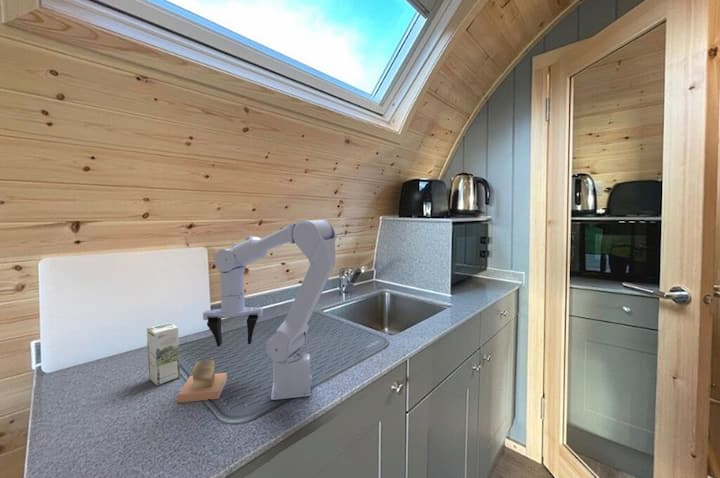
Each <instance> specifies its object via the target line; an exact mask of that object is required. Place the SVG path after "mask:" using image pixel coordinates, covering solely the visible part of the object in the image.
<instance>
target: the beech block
mask: <svg viewBox="0 0 720 478" xmlns="http://www.w3.org/2000/svg"><path fill="white" fill-rule="evenodd" d="M215 371H216V370H215V359H212V360H201V361H197V362H196V363H195V365H194V366H193V368H192V376H193V385H194V389H197V388H205V387H211V386H212V384H213V382H214V380H215V374H216V373H215Z"/></svg>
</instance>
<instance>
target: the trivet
mask: <svg viewBox="0 0 720 478" xmlns="http://www.w3.org/2000/svg"><path fill="white" fill-rule="evenodd" d="M227 380H228V373H227V372H218V373H215V380H214V382H213V384H212V386H211V387H205V388H197V389H194V385H193V375H190V376H189V378H188V379H187V380H186V382H185V383H184V384H183V386H182V388H181V389H180V390H179V392H178V394H177V403H178V404H179V403H188V402H199V401H209V400H208V399H210V400H217V399H219V398H220V396H221V394H222V391H223V389H224V387H225V385H226V383H227Z"/></svg>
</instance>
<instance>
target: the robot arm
mask: <svg viewBox="0 0 720 478" xmlns="http://www.w3.org/2000/svg"><path fill="white" fill-rule="evenodd" d="M337 237H338V236H337V233H336V231H335V228H334V227H333V224H332V223H331V222H330V221H329V220H327V219H325V218H320V219H314V220H307V219H306V220H305V219H303V220H299V221H298V222H294V223H289V224H288V225H286V226H284V227H283V228H280V229H279V230H276V231H275V232H273V233H270V234H269V235H267V236H265V237H262V238H261V237H258V236H253V235H251V236H249V235H248V236H247V237H245V240H244V241H242V242H240V243H237V242H236V243H233V244H232V245H231V247H230V248H221V249H219V250H218V251H217V252H216V253H215V255H214V258H213V260H214V261H213V262H214V265H215V268H216V269H217V270H218V271H219V275H220V276H219V279H220V280H219V281H220V304H221V308H217V309H216V308H215V309H209V310H208V309H207V310H204V312H202V316H203V318H202V319H203V321H207V322H206V325H207V327H208V328H209V330H210V332H211V333H212V334H213V337H214V340H215V342H216V346H217V347H221V345H222V344H223V337H222V319H227V318H228V319H229V318H231V319H232V318H246V317H247V318H246V326H247V327H246V328H247V345H251V344H252V342H253V334H254V330H255V328H256V323H257V321H258V319H259V317H263V314H264V313H263V307H262V306H261V307H254V306H252V307H251V306H250V307H249V306H246V305H245V304H246V301H245V297H246V296H245V277H244V276H245V273H246V266H247V265H250V264H252V263H255V262H257V261H259V260H262V259H264V258H265V257H266V256H267V253H268V251H270V250H272V249H275V248H278V247H280V246H282V245H285V244H288V243H289V244H292V245H294V244H295V245H296V246H297V247H298V249H299V250H300V251H301V252H302V253H303V255H304V256H305V257H306V258H307V260H308V262H309V264H310V265H309V267H308V269H307V271H306V274H305V275H304V278H303V280H302V282H301V285H300V286H299V289H298V291H297V294H296V296H295V298H294V300H293V302H292V305H291V307H290V308H289V311H288V313H287V315H286V317H285V320H283V322H282V323H281V324H280V326H278V328H277V329H276V331H275V333H274V334H273V335H272V336H271V337H270V338H268V340H267V341H266V344H265V345H266V346H265V347H266V348H265V350H266V353H267V355H268V357H269V358H270V359H271V362H272V374H273V375H272V377H273V378H272V379H273V382H272V388H271V395H270V400H271V401H275V400H285V399H293V398H295V399H296V398H303V397H304V398H305V397H310V396H312V393H311V392H312V383H313V381H312V380H313V379H312V378H313V377H312V376H313V375H311V354H310V353H304V352H303V349H304V348H303V347H304V346H305V345H306V343H307V340H308V339H307V338H308V331H309V329H310V326H309V325H308V323H309V320H310V318H311V316H312V314H313V312H314V310H315V308H316V306H317V304H318V302H319V300H320V297H321V295H322V293H323V291H324V289H325V286H326V285H327V284H328V281H329V279H330V276H331V274H332V272H333V270H334V268H335V267H336V261H337V259H336V240H337Z"/></svg>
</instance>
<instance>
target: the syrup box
mask: <svg viewBox="0 0 720 478" xmlns="http://www.w3.org/2000/svg"><path fill="white" fill-rule="evenodd" d="M146 338H147V356H148V357H147V358H148V359H147V360H148V373H149V374H148V375H149V376H148V377H149V380H150V381H151V382H153V384H155V385H156V386H157V387H158V386H161V385H164V384H166V383H169V382H171V381H174V380H177V379H180V377H181V368H180V366H181V365H180V344H179V343H180V342H179V328H178V327H177V325H175V324H174V323H172V322H166V323H163V324H158V325H154V326H150V327H147V328H146Z"/></svg>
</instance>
